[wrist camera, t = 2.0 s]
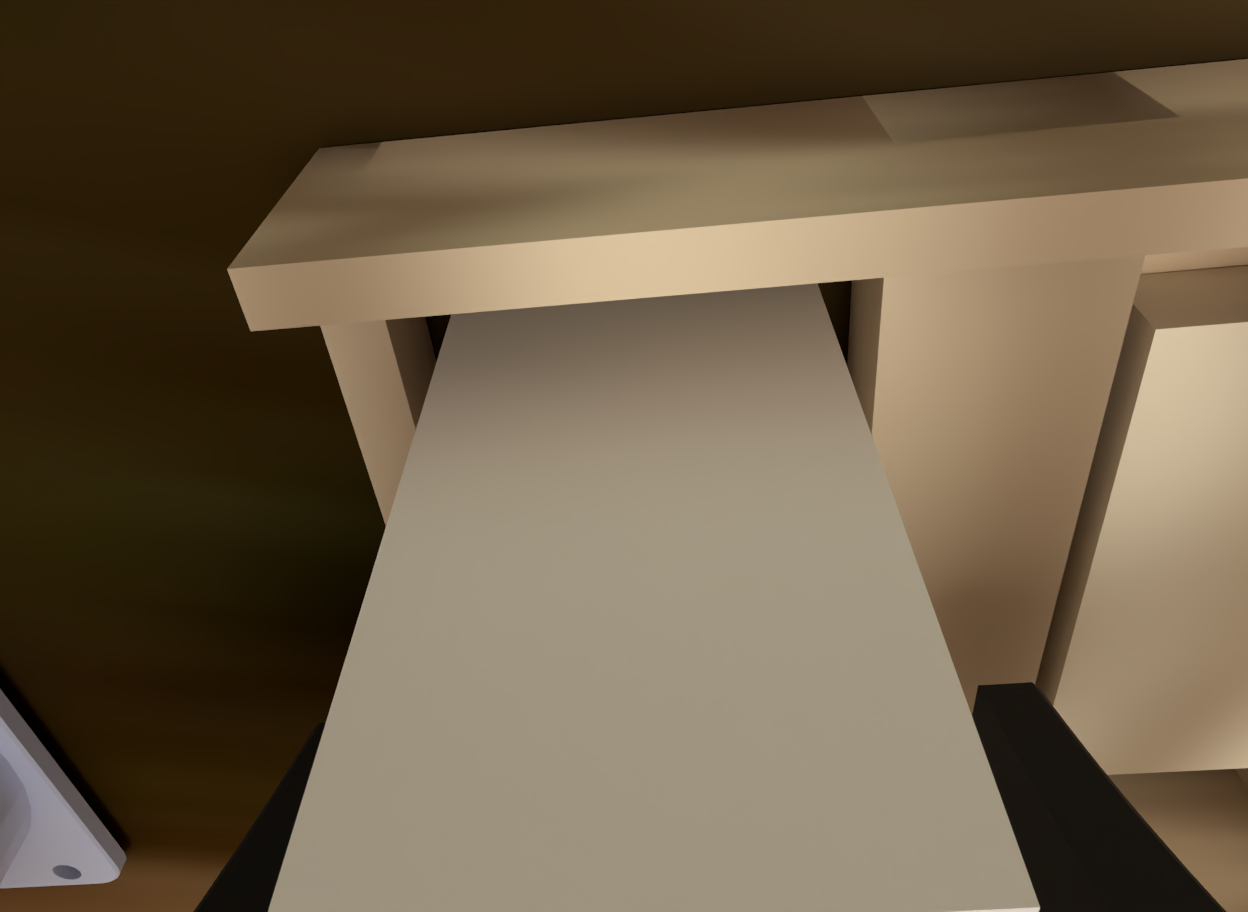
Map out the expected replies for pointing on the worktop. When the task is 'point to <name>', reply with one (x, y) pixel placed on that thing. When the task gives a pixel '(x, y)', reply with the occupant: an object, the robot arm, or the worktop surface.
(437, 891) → the beige rectangular block
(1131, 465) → the offcut upper
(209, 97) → the worktop surface
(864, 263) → the rack
